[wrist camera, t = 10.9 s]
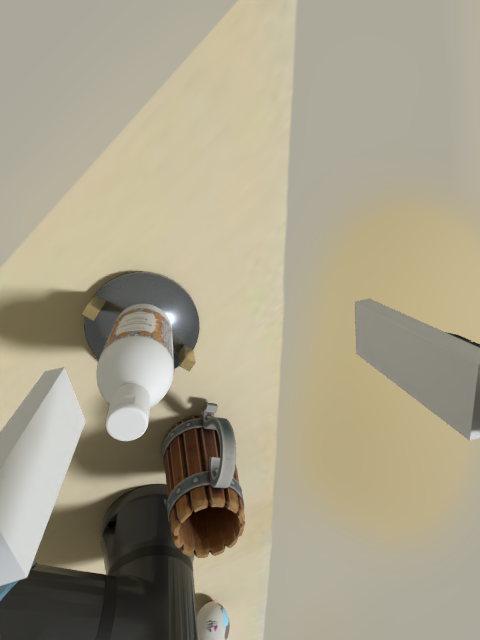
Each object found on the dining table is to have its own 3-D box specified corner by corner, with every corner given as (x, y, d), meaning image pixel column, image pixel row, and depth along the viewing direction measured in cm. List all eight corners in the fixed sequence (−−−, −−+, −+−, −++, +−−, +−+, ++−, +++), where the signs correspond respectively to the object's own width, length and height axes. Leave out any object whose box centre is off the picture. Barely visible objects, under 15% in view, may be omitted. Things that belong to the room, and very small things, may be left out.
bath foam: (170, 300, 41) (174, 376, 23) (173, 351, 43) (179, 458, 25) (112, 303, 40) (65, 386, 21) (118, 355, 42) (80, 471, 24)
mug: (221, 472, 53) (241, 565, 39) (155, 468, 50) (151, 567, 36) (248, 388, 49) (280, 458, 35) (178, 377, 46) (183, 450, 32)
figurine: (228, 610, 64) (234, 653, 58) (197, 620, 63) (201, 665, 57) (222, 584, 62) (228, 626, 55) (190, 594, 61) (193, 638, 54)
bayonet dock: (207, 359, 46) (212, 377, 41) (105, 384, 44) (98, 405, 39) (186, 261, 41) (189, 268, 37) (70, 283, 39) (57, 294, 34)
